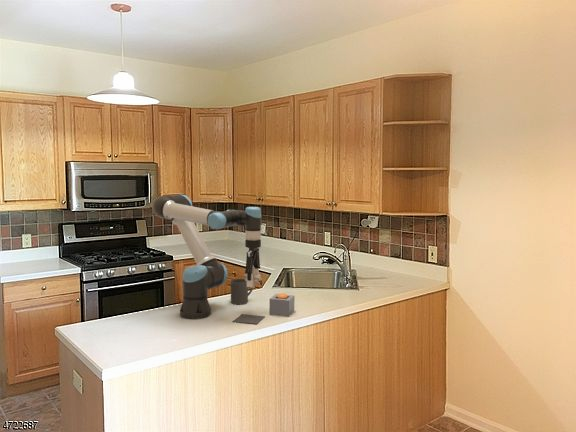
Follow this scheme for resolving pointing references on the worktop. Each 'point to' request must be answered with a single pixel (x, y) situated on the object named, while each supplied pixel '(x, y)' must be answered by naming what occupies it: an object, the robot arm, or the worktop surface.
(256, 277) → the beige toy jack
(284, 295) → the plunger
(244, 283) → the mug
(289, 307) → the housing
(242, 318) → the mat
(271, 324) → the worktop surface
